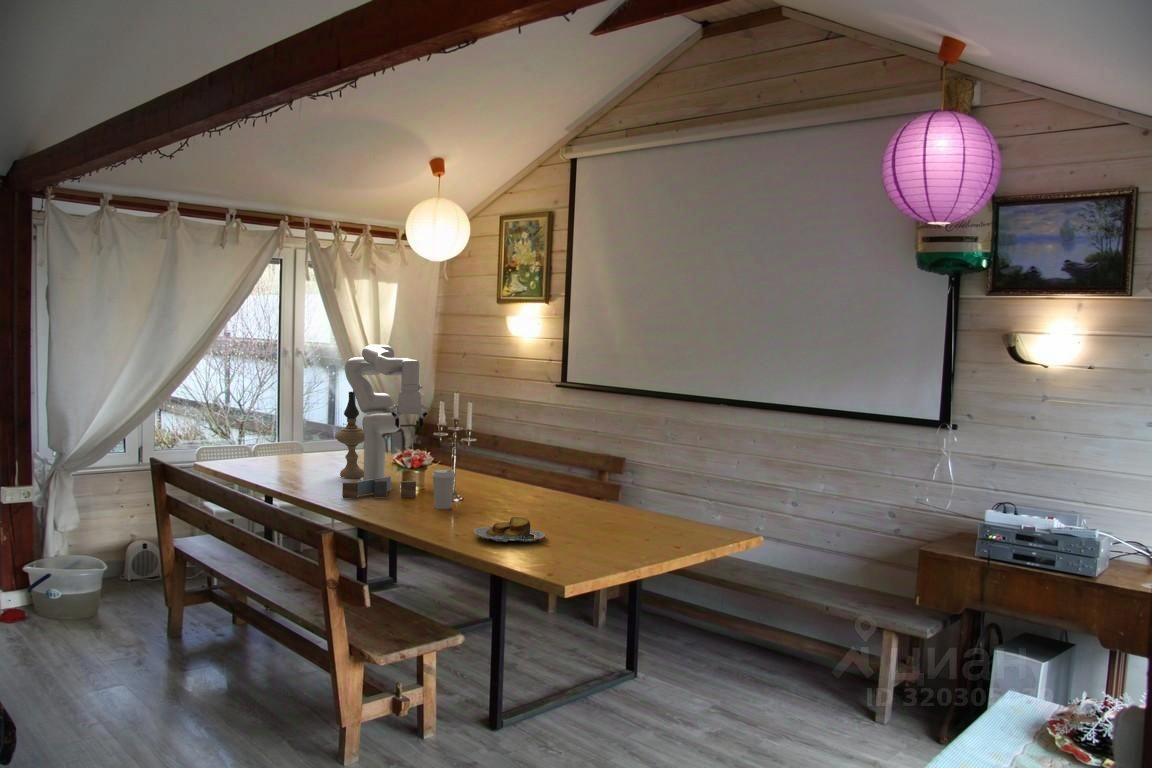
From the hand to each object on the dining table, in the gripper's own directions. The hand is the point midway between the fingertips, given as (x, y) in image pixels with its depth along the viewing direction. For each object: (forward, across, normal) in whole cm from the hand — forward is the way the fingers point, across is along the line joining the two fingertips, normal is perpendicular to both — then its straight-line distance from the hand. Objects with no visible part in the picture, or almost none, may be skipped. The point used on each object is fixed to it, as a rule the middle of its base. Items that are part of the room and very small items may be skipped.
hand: (408, 427), depth 376 cm
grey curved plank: (+28, +15, +3) cm, 32 cm away
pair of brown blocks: (+28, +13, +11) cm, 33 cm away
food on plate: (+29, -24, +87) cm, 95 cm away
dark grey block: (+28, +13, +8) cm, 32 cm away
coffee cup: (+28, -10, +34) cm, 45 cm away
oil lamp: (+28, +21, -39) cm, 53 cm away
